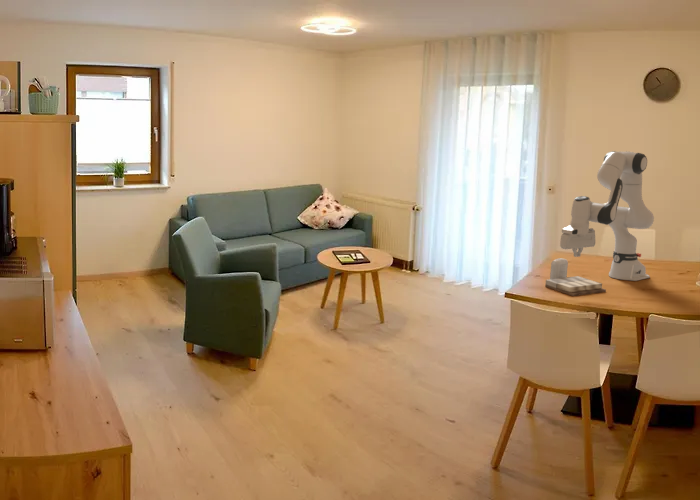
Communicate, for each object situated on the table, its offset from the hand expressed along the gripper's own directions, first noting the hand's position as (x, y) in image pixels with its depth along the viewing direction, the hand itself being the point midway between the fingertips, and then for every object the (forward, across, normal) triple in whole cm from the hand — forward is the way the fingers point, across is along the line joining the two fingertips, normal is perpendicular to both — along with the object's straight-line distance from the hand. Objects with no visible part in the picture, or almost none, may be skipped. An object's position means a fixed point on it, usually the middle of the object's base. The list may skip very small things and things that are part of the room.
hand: (576, 256), depth 346 cm
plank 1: (+17, 0, -2) cm, 17 cm away
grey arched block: (+19, -9, -22) cm, 30 cm away
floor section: (+19, -5, -5) cm, 20 cm away
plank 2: (+17, -11, -2) cm, 21 cm away
